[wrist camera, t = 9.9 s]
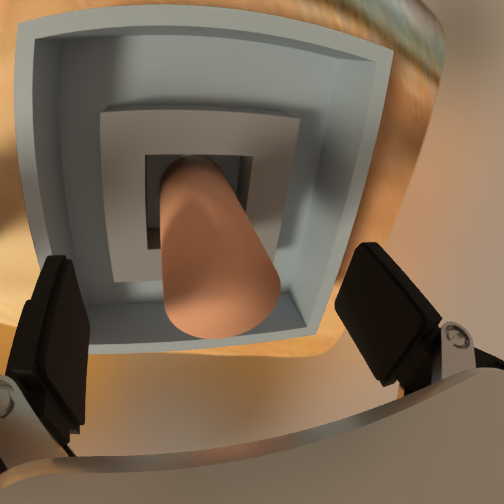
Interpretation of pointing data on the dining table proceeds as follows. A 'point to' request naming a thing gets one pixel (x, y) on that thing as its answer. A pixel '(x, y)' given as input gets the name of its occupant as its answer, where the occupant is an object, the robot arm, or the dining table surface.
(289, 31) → the grey socket tray
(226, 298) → the peg
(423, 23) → the dining table surface
